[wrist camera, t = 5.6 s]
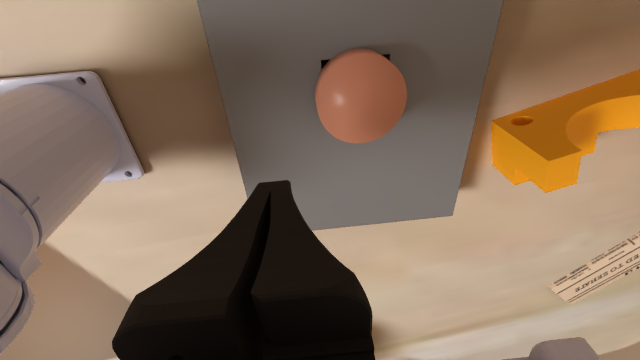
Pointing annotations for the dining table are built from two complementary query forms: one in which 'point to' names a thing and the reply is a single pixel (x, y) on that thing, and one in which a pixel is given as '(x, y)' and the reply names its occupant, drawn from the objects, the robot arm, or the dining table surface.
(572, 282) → the newspaper
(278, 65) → the plate
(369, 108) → the knob
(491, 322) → the dining table surface
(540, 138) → the pipe clamp
